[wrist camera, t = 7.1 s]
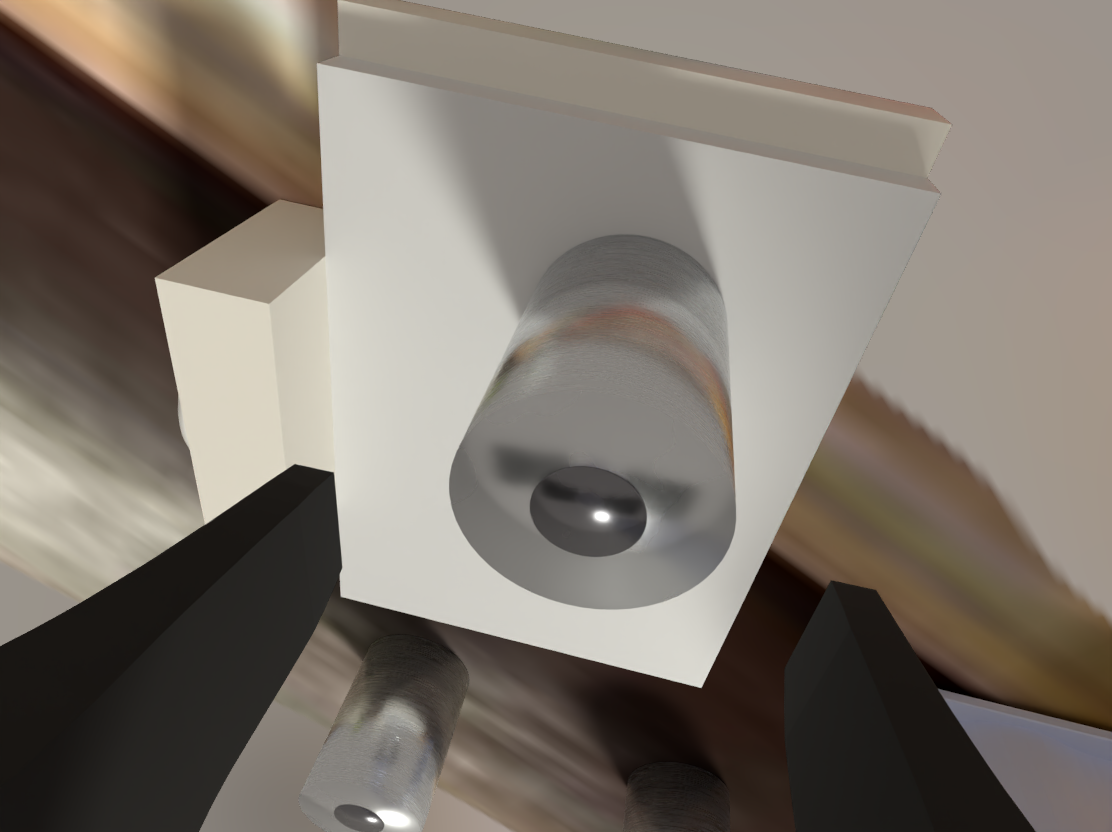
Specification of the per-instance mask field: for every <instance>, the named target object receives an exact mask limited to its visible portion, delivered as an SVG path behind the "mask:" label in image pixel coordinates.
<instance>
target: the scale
mask: <svg viewBox="0 0 1112 832" xmlns="http://www.w3.org/2000/svg"><path fill="white" fill-rule="evenodd" d="M337 1H338V38H339V56H336V57H333V58H330V59H328V60H325V61H322V62H319V63H317V79H318V102H319V124H320V146H321V168H322V191H323V209H321V208H316V207H312V206H307V205H303V204H298V203H294V202H289V201H285V200H280V199H279V200H278V201H276V202H275V203H273V204H271V205H270V206H268V207H267V208H265V209H263V210H262V211H260V212H259V213H257V214H255V215H254V216H252V217H251V218H249V219H248V220H246V221H244V222H243V223H241V224H240V225H238V226H236V227H235V228H233V229H232V230H230V231H228V232H227V233H225V234H224V235H222V236H220V237H219V238H217V239H216V240H214V241H212V242H211V243H209V244H208V245H206V246H205V247H203V248H201V249H200V250H198V251H197V252H195V253H193V254H192V255H190V256H189V257H187V258H185V259H184V260H182V261H181V262H179V263H177V264H176V265H174V266H173V267H171V268H170V269H168V270H166V271H165V272H163V273H162V274H160V275H158V276H157V277H155V281H156V286H157V291H158V296H159V301H160V305H161V310H162V315H163V320H164V325H165V330H166V335H167V340H168V345H169V350H170V355H171V359H172V364H173V369H174V374H175V379H176V384H177V389H178V394H179V396H178V418H179V424H180V429H181V432H182V435H183V438H184V440H185V442H186V444H187V445H188V447H189V448H190V453H191V458H192V463H193V468H194V472H195V477H196V482H197V487H198V492H199V497H200V502H201V507H202V512H203V517H204V522H205V524H207V523H208V522H210V521H211V520H213V519H214V518H216V517H217V516H219V515H220V514H221V513H223V512H224V511H226V510H227V509H229V508H230V507H232V506H233V505H235V504H236V503H238V502H239V501H240V500H242V499H243V498H245V497H246V496H248V495H249V494H251V493H252V492H254V491H255V490H256V489H258V488H259V487H261V486H262V485H264V484H265V483H267V482H268V481H270V480H271V479H273V478H274V477H276V476H277V475H279V474H280V473H282V472H283V471H285V470H286V469H288V468H289V467H291V466H292V465H294V464H297V465H302V466H307V467H311V468H316V469H320V470H325V471H330V472H334V477H335V488H336V499H337V511H338V522H339V534H340V545H341V556H342V570H341V572H340V591H341V597H344V598H348V599H352V600H356V601H360V602H364V603H368V604H372V605H376V606H379V607H383V608H387V609H391V610H395V611H399V612H403V613H407V614H411V615H415V616H419V617H423V618H427V619H431V620H435V621H439V622H443V623H447V624H451V625H455V626H459V627H463V628H467V629H470V630H474V631H478V632H482V633H486V634H490V635H494V636H498V637H502V638H506V639H510V640H514V641H518V642H522V643H526V644H530V645H534V646H538V647H542V648H546V649H550V650H554V651H558V652H562V653H565V654H569V655H573V656H577V657H581V658H585V659H589V660H593V661H597V662H601V663H605V664H609V665H613V666H617V667H621V668H625V669H629V670H633V671H637V672H641V673H645V674H649V675H653V676H657V677H660V678H664V679H668V680H672V681H676V682H680V683H684V684H688V685H692V686H696V687H700V688H701V687H702V685H703V683H704V681H705V679H706V677H707V675H708V673H709V671H710V669H711V667H712V665H713V663H714V661H715V659H716V657H717V654H718V652H719V650H720V648H721V646H722V644H723V642H724V640H725V638H726V636H727V634H728V632H729V630H730V628H731V626H732V624H733V622H734V620H735V617H736V615H737V613H738V611H739V609H740V607H741V605H742V603H743V601H744V599H745V597H746V595H747V593H748V591H749V589H750V587H751V585H752V582H753V580H754V578H755V576H756V574H757V572H758V570H759V568H760V566H761V564H762V562H763V560H764V558H765V556H766V554H767V552H768V550H769V547H770V545H771V543H772V541H773V539H774V537H775V535H776V533H777V531H778V529H779V527H780V525H781V523H782V521H783V519H784V517H785V515H786V512H787V510H788V508H789V506H790V504H791V502H792V500H793V498H794V496H795V494H796V492H797V490H798V488H799V486H800V484H801V482H802V480H803V477H804V475H805V473H806V471H807V469H808V467H809V465H810V463H811V461H812V459H813V457H814V455H815V453H816V451H817V449H818V447H819V445H820V442H821V440H822V438H823V436H824V434H825V432H826V430H827V428H828V426H829V424H830V422H831V420H832V418H833V416H834V414H835V412H836V410H837V407H838V405H839V403H840V401H841V399H842V397H843V395H844V393H845V391H846V389H847V387H848V385H849V383H850V381H851V379H852V377H853V375H854V373H855V370H856V368H857V366H858V364H859V362H860V360H861V358H862V356H863V354H864V352H865V350H866V348H867V346H868V344H869V342H870V340H871V337H872V335H873V333H874V331H875V329H876V327H877V325H878V323H879V321H880V319H881V317H882V315H883V313H884V311H885V309H886V307H887V305H888V303H889V300H890V298H891V296H892V294H893V292H894V290H895V288H896V286H897V284H898V282H899V280H900V278H901V276H902V273H903V272H904V270H905V268H906V265H907V263H908V261H909V259H910V257H911V255H912V253H913V251H914V249H915V247H916V245H917V243H918V241H919V238H920V237H921V235H922V233H923V230H924V228H925V226H926V224H927V222H928V220H929V218H930V216H931V214H932V212H933V210H934V208H935V206H936V204H937V201H938V200H939V198H940V195H941V193H940V192H939V191H938V189H937V188H936V187H935V186H934V185H933V184H932V183H931V181H930V180H929V179H928V176H929V174H930V172H931V170H932V167H933V165H934V163H935V161H936V159H937V157H938V155H939V152H940V150H941V148H942V146H943V144H944V142H945V140H946V138H947V135H948V133H949V131H950V129H951V126H952V124H951V123H950V122H949V121H947V120H946V119H945V118H943V117H942V116H941V115H940V114H939V113H937V112H936V111H935V110H934V109H932V108H929V107H924V106H919V105H914V104H909V103H905V102H899V101H895V100H890V99H885V98H880V97H875V96H870V95H865V94H860V93H855V92H850V91H845V90H840V89H835V88H830V87H825V86H820V85H816V84H811V83H805V82H801V81H795V80H791V79H786V78H781V77H776V76H771V75H766V74H761V73H756V72H751V71H746V70H742V69H736V68H731V67H727V66H722V65H717V64H712V63H707V62H702V61H697V60H692V59H687V58H682V57H677V56H672V55H667V54H662V53H657V52H653V51H648V50H642V49H638V48H633V47H628V46H623V45H618V44H613V43H608V42H603V41H598V40H593V39H588V38H583V37H578V36H574V35H569V34H564V33H558V32H554V31H549V30H544V29H539V28H534V27H529V26H524V25H519V24H514V23H509V22H504V21H500V20H495V19H489V18H485V17H480V16H475V15H470V14H465V13H460V12H455V11H450V10H445V9H440V8H435V7H430V6H425V5H420V4H415V3H410V2H406V1H401V0H337ZM618 234H631V235H641V236H647V237H651V238H655V239H658V240H662V241H664V242H667V243H669V244H671V245H674V246H676V247H677V248H679V249H681V250H682V251H684V252H686V253H687V254H689V255H690V256H691V257H692V258H694V259H695V260H696V261H697V262H699V263H700V264H701V266H702V267H703V268H704V269H705V270H706V271H707V272H708V273H709V275H710V276H711V277H712V279H713V280H714V282H715V283H716V285H717V287H718V289H719V291H720V293H721V295H722V298H723V301H724V304H725V308H726V314H727V323H728V344H729V366H730V388H731V409H732V431H733V452H734V474H735V495H736V525H735V532H734V536H733V539H732V542H731V545H730V547H729V549H728V551H727V553H726V555H725V556H724V558H723V560H722V561H721V562H720V564H719V565H718V566H717V568H716V569H715V570H714V571H713V572H712V573H711V574H710V575H709V576H708V577H707V578H706V579H705V580H704V581H702V582H701V583H699V584H698V585H696V586H695V587H694V588H692V589H691V590H689V591H687V592H685V593H683V594H681V595H679V596H677V597H675V598H672V599H670V600H667V601H664V602H661V603H657V604H654V605H650V606H645V607H639V608H633V609H619V610H605V609H591V608H583V607H577V606H572V605H567V604H563V603H560V602H556V601H553V600H550V599H547V598H544V597H542V596H539V595H537V594H534V593H532V592H530V591H528V590H526V589H524V588H522V587H520V586H518V585H516V584H515V583H513V582H511V581H510V580H508V579H507V578H505V577H504V576H502V575H501V574H500V573H498V572H497V571H496V570H494V569H493V568H492V567H491V566H490V565H489V564H487V563H486V562H485V561H484V560H483V559H482V558H481V557H480V556H479V555H478V554H477V552H476V551H475V550H474V549H473V548H472V546H471V545H470V544H469V542H468V541H467V539H466V538H465V536H464V535H463V533H462V531H461V529H460V527H459V525H458V523H457V521H456V519H455V516H454V513H453V510H452V507H451V501H450V495H449V477H450V471H451V466H452V463H453V460H454V457H455V454H456V452H457V450H458V448H459V445H460V443H461V441H462V439H463V437H464V435H465V433H466V431H467V429H468V427H469V425H470V423H471V421H472V419H473V417H474V414H475V412H476V410H477V408H478V406H479V404H480V402H481V400H482V398H483V396H484V394H485V392H486V390H487V388H488V386H489V383H490V381H491V379H492V377H493V375H494V373H495V371H496V369H497V367H498V365H499V363H500V361H501V359H502V357H503V354H504V352H505V350H506V348H507V346H508V344H509V342H510V340H511V338H512V336H513V334H514V332H515V330H516V328H517V326H518V323H519V321H520V319H521V317H522V315H523V313H524V311H525V309H526V307H527V305H528V303H529V301H530V299H531V297H532V295H533V292H534V290H535V288H536V286H537V284H538V283H539V281H540V279H541V277H542V276H543V274H544V273H545V272H546V271H547V269H548V268H549V267H550V266H551V265H552V264H553V263H554V262H555V261H556V260H557V259H558V258H559V257H560V256H561V255H563V254H564V253H566V252H567V251H568V250H570V249H572V248H574V247H575V246H577V245H579V244H581V243H584V242H586V241H589V240H592V239H595V238H599V237H603V236H608V235H618Z"/></svg>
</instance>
